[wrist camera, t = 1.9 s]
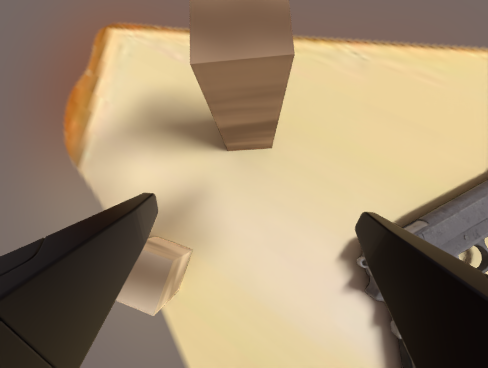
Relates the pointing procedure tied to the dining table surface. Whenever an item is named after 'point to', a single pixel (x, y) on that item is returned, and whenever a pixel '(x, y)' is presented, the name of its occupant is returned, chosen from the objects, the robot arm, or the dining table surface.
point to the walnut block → (242, 65)
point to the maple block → (155, 275)
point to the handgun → (446, 238)
